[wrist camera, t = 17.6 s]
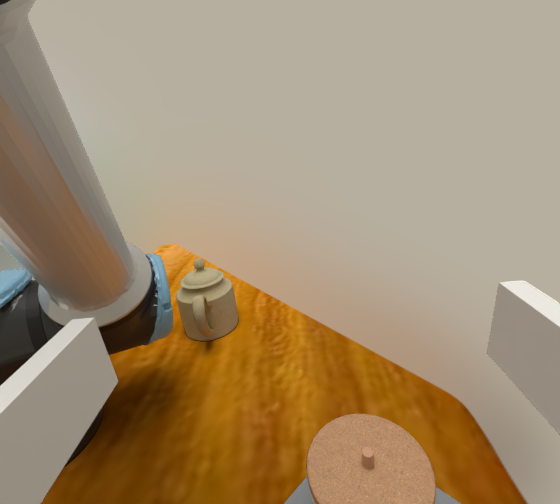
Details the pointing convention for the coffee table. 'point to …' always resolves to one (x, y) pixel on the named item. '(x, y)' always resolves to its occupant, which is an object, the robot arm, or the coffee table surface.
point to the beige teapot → (206, 303)
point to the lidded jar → (368, 464)
